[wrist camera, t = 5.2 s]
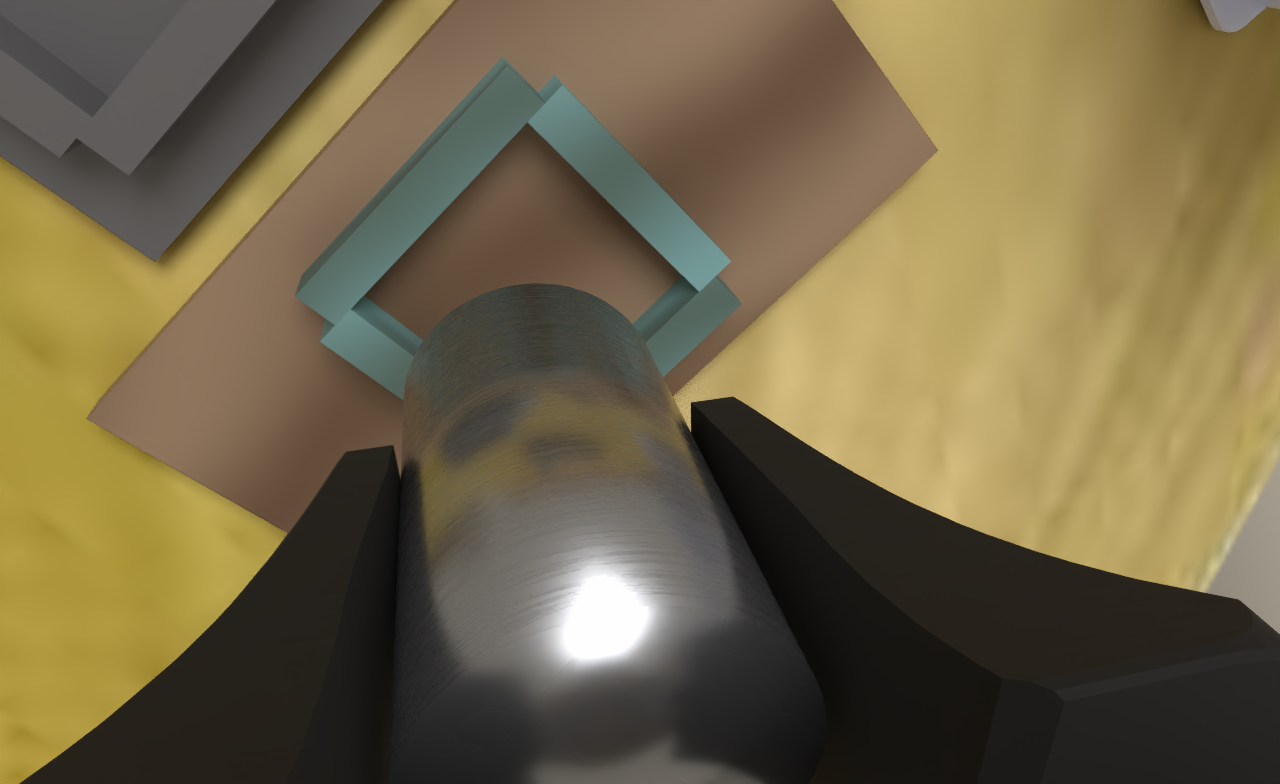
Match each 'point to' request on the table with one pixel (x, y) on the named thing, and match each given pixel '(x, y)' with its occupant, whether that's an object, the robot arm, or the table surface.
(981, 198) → the table surface
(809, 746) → the peg
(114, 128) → the socket block
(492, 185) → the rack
